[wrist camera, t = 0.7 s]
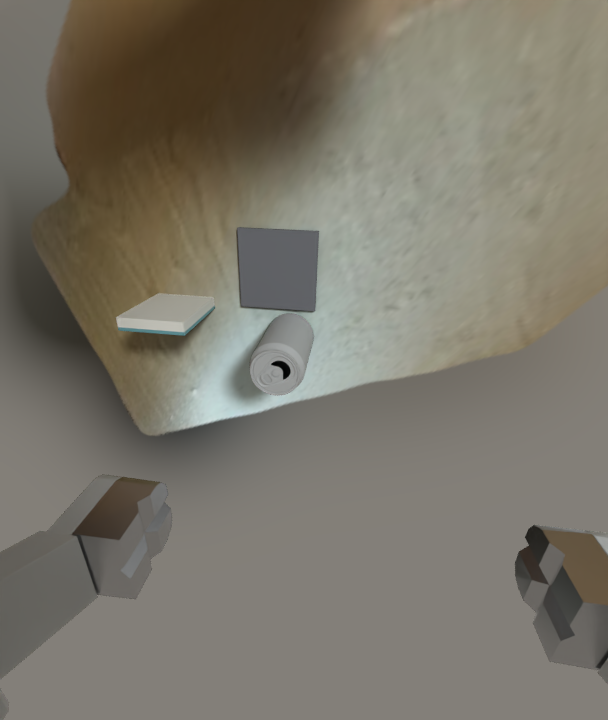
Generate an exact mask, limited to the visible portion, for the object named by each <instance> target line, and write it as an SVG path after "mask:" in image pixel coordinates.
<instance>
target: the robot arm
mask: <svg viewBox="0 0 608 720" xmlns="http://www.w3.org/2000/svg"><path fill="white" fill-rule="evenodd" d="M167 496H168V491H167V486H166V484H164V483H162V482H155V481H147V480H140V479H134V478H127V477H118V476H110V475H101V476H99V477H97V478H95V479H94V480H93V481H92V482H91V484H90V485H89V486H88V487H87V488H86V489H85V490H84V491H83V492H82V493H81V494H80V495H79V497H78V498H77V499H76V500H75V501H74V502H73V503H72V504H71V505H70V507H69V508H68V509H67V510H66V511H65V512H64V513H63V514H62V515H61V516H60V517H59V519H58V520H57V521H56V522H55V523H54V524H53V525H52V526H51V527H50V528H49V530H48V531H47V532H44V531H39V532H37V533H35V534H33V535H31V536H30V537H28V538H26V539H24V540H22V541H20V542H19V543H16V544H14V545H13V546H11V547H9V548H7V549H5V550H3V551H1V552H0V679H2V678H3V677H4V676H5V675H6V674H8V673H9V672H10V671H11V670H12V669H13V668H15V667H16V666H17V665H18V664H19V663H21V662H22V661H23V660H24V659H25V658H27V657H28V656H29V655H30V654H31V653H33V652H34V651H35V650H36V649H37V648H38V647H40V646H41V645H42V644H43V643H44V642H46V640H48V639H49V638H50V637H51V636H53V635H54V634H55V633H56V632H57V631H59V630H60V629H61V628H62V627H63V626H64V625H66V624H67V623H68V622H69V621H70V620H72V619H73V618H74V617H75V616H76V615H78V614H79V613H80V612H81V611H82V610H83V609H85V608H86V607H87V606H88V605H89V604H90V603H92V602H93V601H94V600H95V599H96V598H97V597H98V596H97V595H103V596H112V597H121V598H129V599H136V598H137V596H138V594H139V592H140V591H141V589H142V587H143V585H144V583H145V581H146V579H147V578H148V576H149V574H150V572H151V570H152V568H151V561H150V559H151V558H153V557H154V556H155V555H157V554H158V553H160V552H161V551H162V549H163V547H164V546H165V544H166V542H167V540H168V536H169V533H170V530H171V526H172V513H171V508H170V507H169V506H168V505H167V504H166V503H165V502H164V501H165V499H166V498H167ZM525 538H526V540H527V542H528V544H529V546H527V547H526V548H524V549H522V550H521V551H519V553H518V556H517V559H516V561H515V576H516V581H517V585H518V589H519V591H520V594H521V596H522V598H523V600H524V601H525V602H526V603H527V604H528V605H529V606H530V607H531V608H532V609H533V610H534V611H535V612H536V614H535V618H534V621H533V624H534V627H535V629H536V632H537V634H538V636H539V639H540V641H541V643H542V646H543V648H544V650H545V653H546V655H547V657H548V659H549V661H550V662H555V663H561V664H567V665H572V666H577V667H583V668H589V669H594V670H599V671H598V674H599V675H600V676H601V677H602V678H603V679H604V680H605V682H606V683H607V684H608V533H603V532H594V531H583V530H576V529H567V528H557V527H548V526H538V525H533V526H532V527H530V528H529V529H528V531H527V534H526V536H525ZM8 706H9V702H8V700H7V698H6V697H5V695H4V694H3V692H2V691H1V690H0V720H3V719H4V717H5V716H6V714H7V713H8V710H9V707H8Z"/></svg>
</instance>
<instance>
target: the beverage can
mask: <svg viewBox="0 0 608 720" xmlns="http://www.w3.org/2000/svg"><path fill="white" fill-rule="evenodd" d="M313 339H314V335H313V330H312V327H311V325H310V324H309V322H308V321H307V320H306V319H304V318H303V317H301V316H299V315H296V314H290V313H288V314H282V315H280V316H278V317H276V318H275V319H274V320H273V321H272V322H271V324H270V326H269V327H268V329H267V331H266V332H265V334H264V336H263V337H262V339H261V341H260V342H259V344H258V346H257V348H256V349H255V351H254V353H253V354H252V356H251V359H250V375H251V378H252V381H253V382H254V384H255V385H256V386H257V387H258V388H259V389H260V390H261V391H263V392H265V393H267V394H270V395H285V394H288V393H290V392H291V391H293V390H294V389H295V388H296V387H297V386H298V385H299V384H300V383H301V382H302V380H303V378H304V375H305V371H306V367H307V363H308V359H309V355H310V352H311V348H312V344H313Z"/></svg>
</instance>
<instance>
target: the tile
mask: <svg viewBox="0 0 608 720" xmlns="http://www.w3.org/2000/svg"><path fill="white" fill-rule="evenodd" d="M213 309H215V305H214V297H204V296H189V295H174V294H159V293H158V294H156V295H155V296H153V297H151V298H149V299H148V300H146V301H144V302H142V303H140V304H139V305H137V306H135V307H133V308H132V309H130V310H128V311H126V312H125V313H123V314H121V315H119V316H117V317H116V320H117V325H118V330H120V331H132V332H145V333H158V334H171V335H184V336H185V335H186V334H187V333H188V332H189V331H190V330H191V329H193V328H194V327H195V326H196V325H197V324H198V323H199V322H200V321H201V320H202V319H204V318H205V317H206V316H207V315H208V314H209V313H210V312H211V311H212V310H213Z"/></svg>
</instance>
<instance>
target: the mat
mask: <svg viewBox="0 0 608 720" xmlns="http://www.w3.org/2000/svg"><path fill="white" fill-rule="evenodd" d="M237 230H238V250H239V270H240V291H241V306H247V307H261V308H276V309H290V310H305V311H315V303H316V281H317V259H318V238H319V231H305V230H284V229H262V228H241V227H238V228H237Z"/></svg>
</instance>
